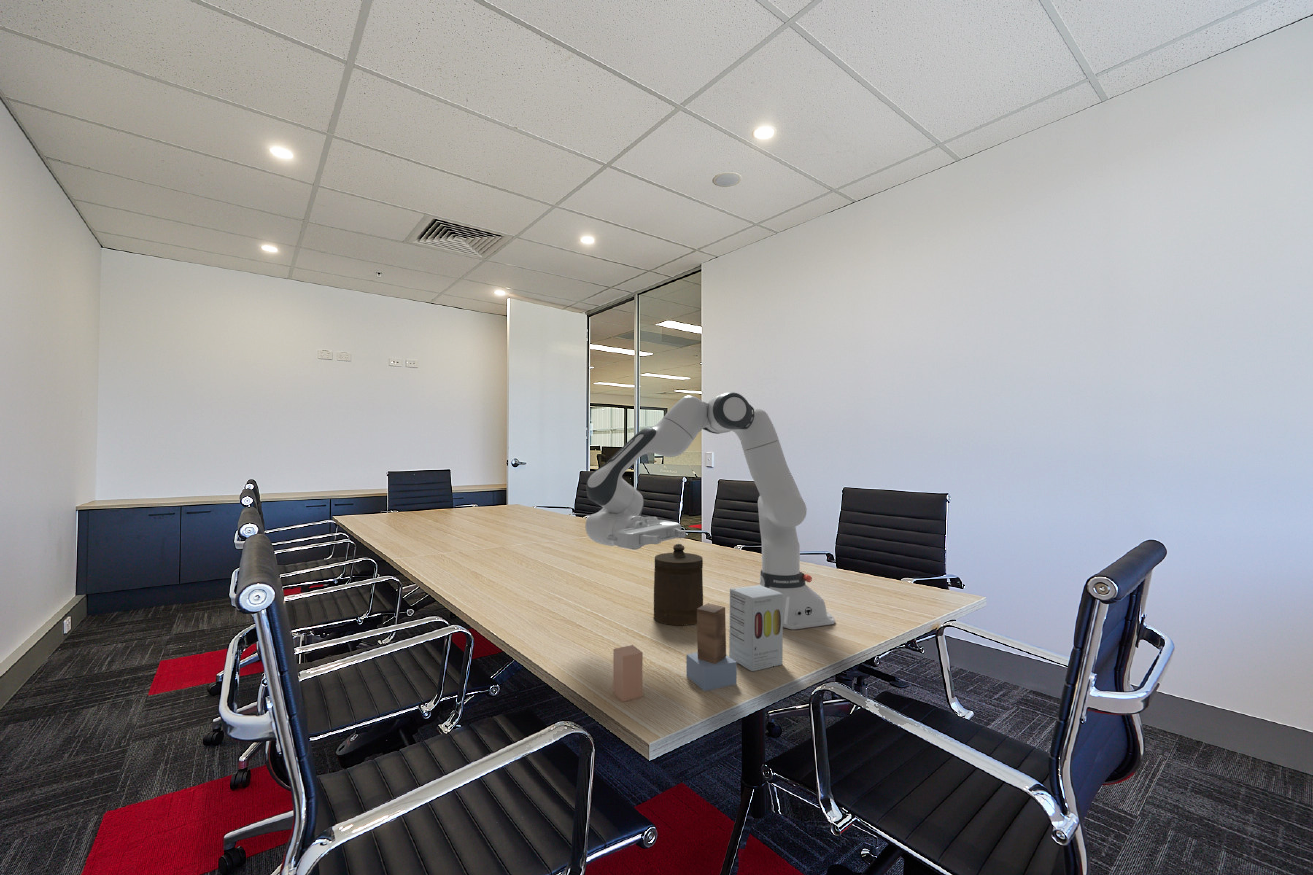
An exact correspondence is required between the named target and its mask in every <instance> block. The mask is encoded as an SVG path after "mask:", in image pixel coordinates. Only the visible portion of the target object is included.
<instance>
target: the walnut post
mask: <svg viewBox="0 0 1313 875" xmlns="http://www.w3.org/2000/svg"><path fill="white" fill-rule="evenodd" d="M726 623H727V622H726V606H721V605H719V604H718V605H717V604H714V603H709V602H708V603H706V604H703V606H701V607H699V608H697V623H696V630H697V631H696V632H697V633H696V638H697V640H696V641H697V642H696V644H697V652H698V659H700V660H703V661H707V662H710V663H713V664H716V663H718V662H719V661H721V660H722V659H724V658H725V657H726V655H727V637H726V636H727V634H726V633H727V631H726V630H727V629H726Z"/></svg>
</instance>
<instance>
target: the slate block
mask: <svg viewBox="0 0 1313 875" xmlns="http://www.w3.org/2000/svg"><path fill="white" fill-rule="evenodd" d="M685 657H686V667H685V668H686V671H685V672H686V677H687V678H688V679H689V680H691V681H692V683H694V684H695V685H697V686H698V687H699V689H701V690H702V692H707V691H712V690H717V689H720V688H726V687H730V686H734V685H737V675H738V674H737V671H738V670H737V669H738V668H737V664H738V663H737V662H736V661H735V660H733V659H732V658H730V657H729V655H727V654H726V657H725V658H724V659H722V660H721V661H719V662H718V663H716V664H713V663H710V662H707V661H703V660H700V659H698V651H697V652H693V653H688V654H686V656H685ZM729 685H730V686H729ZM725 686H726V687H725ZM716 688H717V689H716Z"/></svg>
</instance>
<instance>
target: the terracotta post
mask: <svg viewBox="0 0 1313 875" xmlns="http://www.w3.org/2000/svg"><path fill="white" fill-rule="evenodd" d="M612 657H613V662H612V664H613V667H612V668H613V671H612V672H613V674H612V677H613V680H612V683H613V684H612V685H613V686H612V687H613V688H612V689H613V690H612V691H613V692H612V693H613V694H614V695H615V696H616V697H617V698H618V699H619V700H620V701H621V702H627V701H631V700H634V699H639V698H642V697H643V662H644V661H643V659H644V658H643V651H641V650H640V649H639V648H637V647H636V646H634V645H633V644H631V645H627V646H625V645H624V646H621V647H617V648H613V655H612Z"/></svg>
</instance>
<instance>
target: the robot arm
mask: <svg viewBox="0 0 1313 875" xmlns="http://www.w3.org/2000/svg"><path fill="white" fill-rule="evenodd" d="M702 430H704V431H706V432H708V433H711V434H718V435H719V434H724V433H725V434H726V433H731V432H734V433H735V435H736V436H737V437H738V439H739V441H740V445H741V448H742V450H743V453H744V454H743V455H744V457H745V460H746V463H747V466H748V470H749V472H750V476H751V478H752V479H753V482H754V484H755V486H756V488H757V491H758V493H759V496H758V498H757V499H758V500H757V508H758V509H757V510H758V522H759V524H758V525H759V533H760V539H761V540H760V541H761V569H760V576H759V585H761V586H764V587H766V588H769V589H772V590H775V591H778V592H780V593H782V594H783V628H786V629H789V630H799V629H808V628H814V627H822V626H830V625H834V624H835V623H836V622H835V618H834V616H833V615H832V614H830V613H829V612H827V607H826V606H827V605H826V603H825V601H824V598H822V596H820V594H818V593H817V592H816V591H815V590H813V589H812V588H810V586H808V585H807V584H806V582H807V583H811V582H812V581H813V576H811V575H810V574H808V573H807V574H806V573H803V572H802V571H801V568H800V567H801V565H800V561H801V560H800V558H801V557H800V556H801V554H800V553H801V552H800V551H801V550H800V549H801V548H800V543H799V540H798V535H797V534H798V533H797V528H796V527H797V526H799V525H801V524H802V523H803V522H804V520H805V519H806V516H807V510H808V509H807V505H806V502H805V501H804V499H803V497H802V495H801V492H800V490H799V488H798V486H797V485H798V484H796V481H795V479H794V477H793V475H792V472H791V471H790V469H789V466H788V464H787V461H786V458H785V455H784V451H783V448H782V445H781V442H780V439H779V436H778V433H777V431H776V428H775V426H774V424H773V422H772V420H771V418H770V416H769V415H768V413H767V412H766V411H765V410H764V409H760V408H754V407H753V406H752V405H751V404H750V403H749V402H748V400H747V399H746V397H744V396H743V395H742V394H740V393H737V392H735V391H734V392H733V391H732V392H731V391H730V392H723V393H722V394H719V395H717V396H715V397H712V398H711V400H708V401H707V402H705V401H702V399H700V398H699V397H697V396H694V395H685V396H682V397H681V399H679V400H678V401H677V402H676V403H675V404H673V406H672V407H671V408H670V409H669V410H668V411H667V412H666V413H665V415H664V416H663V417H662V418H661V420H660V421H659V422H658V423H656V424H655V425H654V426H652V427H645V428H642V429H641V430H639V431H638V432H637V433H636V434H635V435H633V436H632V437H631V438H630V439H629V440H628V441H627V442H626V443H625V444H624V445H623V446H622V447H621V448H620V449H618V450H617V452H615V454H613V456H612V457H611V458H609V459H608V460H607V461H606V462H605V463H604V464H603V465H601V466H599V467H598V468H597V469H596V470H594V471H593V472H592V473H591V474H590V475H589V477H588V478H587V480H586V486H585V488H586V489H585V490H586V495H587V496H586V497H587V498H588V499H589V501H591V502H593V503H595V504H596V505H599V506H600V507H602V508H601V509H600V510H599V511H598V512H595V513H592V514H590V515H589V516H588V517H586V520H585V526H584V527H585V533H586V534H587V537H589V539H590V540H591V541H592V542H595V543H597V544H600V545H605V546H608V547H615V546H616V547H618V548H622V549H626V550H627V549H628V550H634V551H635V550H640V549H641V548H643V547H644V546H647V545H658V544H661V543H662V542H664V541H670V540H674V539H681V540H682V539H684V538H686V534H687V532H686V531H685V530H682V525H681V524H680V523H678V522H677V521H676V522H675V521H671V520H664V519H658V516H657V517H656V516H641V515H642V513H643V510H644V505H645V502H644V501H645V500H644V497H643V495H642V493H641V492H640V491H639V490H637V489H636V488H635V487H634V486H633V485H631V483H628V482H627V481H626V480H625V479H624V478H623V475H624V473H625V472H627V470H628V469H629V468H630V467H631V466H632V465H634V464H635V463H636V462H637V461H638V460H639V459H640V457H642V456H643V455H645V454H656V455H659V456H663V457H668V458H674V457H679V456H681V455H682V454H684V453H685V452H686V451H687V450H688V448H689V447H690V446H691V444H692V442H693V441H694V440H695V439H696V437H697V435H699V434H700V432H701V431H702Z"/></svg>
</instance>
